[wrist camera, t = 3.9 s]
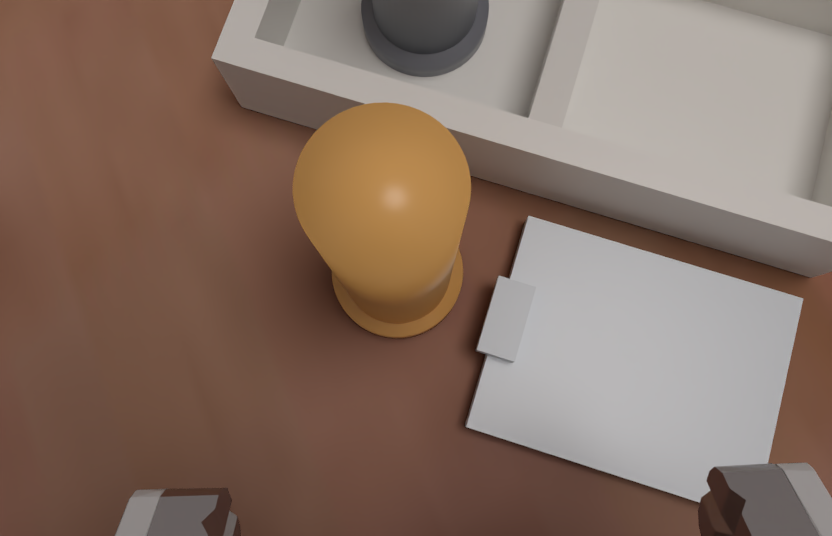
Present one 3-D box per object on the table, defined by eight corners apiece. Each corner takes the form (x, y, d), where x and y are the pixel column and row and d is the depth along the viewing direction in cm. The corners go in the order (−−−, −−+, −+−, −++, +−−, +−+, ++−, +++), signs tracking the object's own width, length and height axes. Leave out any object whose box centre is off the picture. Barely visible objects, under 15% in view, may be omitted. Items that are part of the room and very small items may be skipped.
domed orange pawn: (317, 316, 22) (239, 256, 13) (358, 198, 23) (313, 58, 14) (440, 355, 22) (455, 324, 13) (477, 234, 23) (518, 117, 13)
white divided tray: (241, 106, 24) (211, 58, 20) (325, -112, 25) (310, -191, 22) (811, 277, 23) (881, 256, 19) (862, 37, 24) (936, -23, 21)
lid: (452, 422, 22) (454, 423, 20) (513, 218, 23) (519, 207, 22) (743, 516, 21) (765, 524, 20) (789, 301, 22) (813, 296, 21)
